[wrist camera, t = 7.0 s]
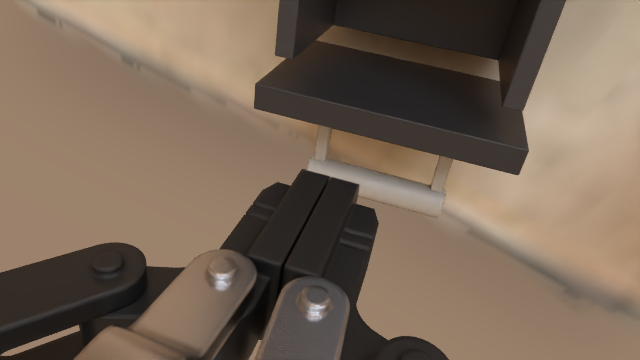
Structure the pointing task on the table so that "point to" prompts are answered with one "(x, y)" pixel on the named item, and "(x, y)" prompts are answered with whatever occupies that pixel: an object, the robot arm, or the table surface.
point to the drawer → (411, 85)
